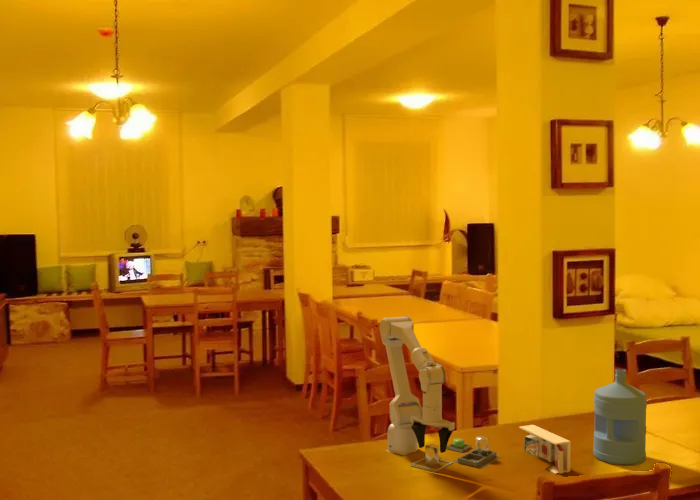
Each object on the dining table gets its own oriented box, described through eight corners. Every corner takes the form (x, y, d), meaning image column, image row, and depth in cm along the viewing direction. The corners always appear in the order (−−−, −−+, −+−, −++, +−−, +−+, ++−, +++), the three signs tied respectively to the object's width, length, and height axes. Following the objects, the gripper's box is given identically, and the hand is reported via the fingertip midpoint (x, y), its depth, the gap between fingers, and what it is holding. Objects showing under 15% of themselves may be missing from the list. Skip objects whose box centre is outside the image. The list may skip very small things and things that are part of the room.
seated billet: (473, 457, 232) (473, 438, 231) (479, 453, 235) (479, 435, 235) (484, 459, 229) (484, 440, 229) (490, 456, 232) (490, 437, 232)
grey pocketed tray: (452, 465, 228) (453, 457, 228) (472, 454, 238) (472, 446, 238) (482, 472, 222) (482, 463, 222) (501, 461, 232) (501, 452, 232)
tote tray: (411, 468, 225) (411, 464, 225) (427, 460, 232) (427, 456, 232) (437, 475, 219) (437, 470, 219) (452, 466, 227) (452, 462, 227)
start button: (451, 449, 240) (451, 440, 240) (456, 446, 243) (456, 437, 243) (460, 451, 238) (460, 442, 238) (466, 448, 241) (466, 439, 241)
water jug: (607, 446, 246) (608, 362, 244) (654, 457, 235) (655, 369, 233) (584, 457, 235) (585, 370, 233) (632, 469, 224) (633, 378, 222)
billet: (422, 466, 226) (422, 446, 225) (429, 462, 229) (429, 443, 228) (434, 468, 223) (434, 449, 223) (441, 465, 226) (441, 446, 226)
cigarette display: (518, 455, 237) (518, 426, 237) (532, 453, 240) (533, 424, 239) (557, 476, 219) (558, 444, 218) (573, 473, 221) (573, 442, 220)
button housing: (445, 452, 240) (446, 446, 240) (455, 447, 245) (455, 441, 245) (462, 456, 236) (462, 449, 236) (471, 451, 241) (471, 445, 241)
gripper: (459, 406, 224) (459, 450, 224) (419, 399, 232) (419, 441, 233) (447, 411, 218) (447, 456, 219) (406, 403, 227) (406, 447, 228)
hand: (432, 449), depth 226 cm, fingers open, 7 cm apart
